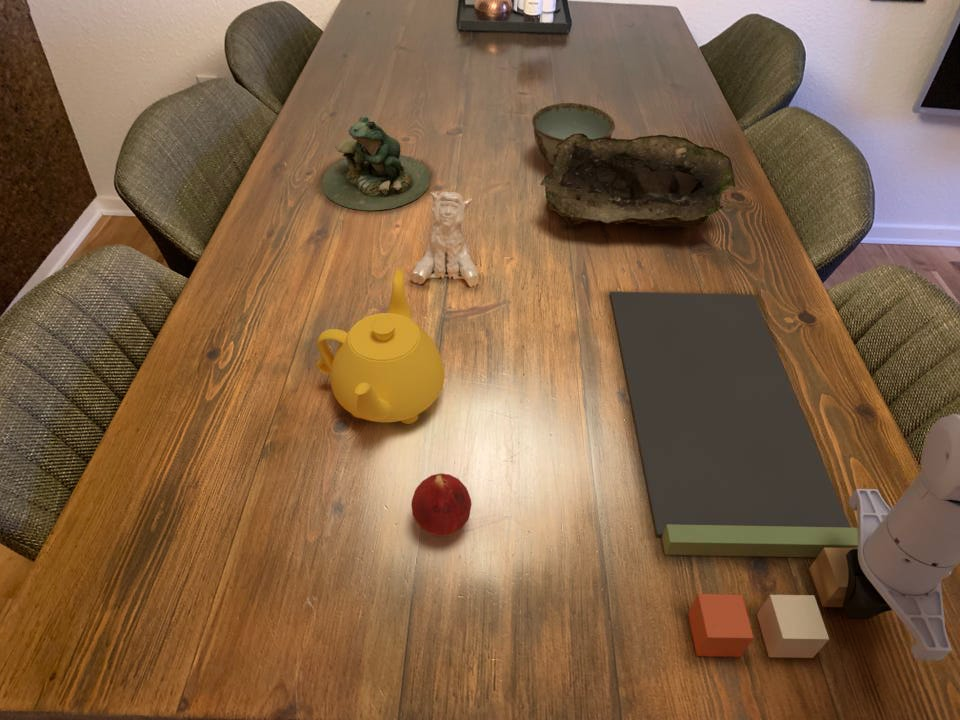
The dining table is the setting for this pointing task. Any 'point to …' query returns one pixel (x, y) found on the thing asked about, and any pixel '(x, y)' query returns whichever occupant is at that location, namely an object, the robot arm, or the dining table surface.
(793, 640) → the ivory block
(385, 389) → the teapot
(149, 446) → the dining table surface
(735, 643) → the terracotta block
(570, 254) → the dining table surface
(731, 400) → the line board
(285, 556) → the dining table surface
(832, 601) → the birch block
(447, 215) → the sitting furry creature
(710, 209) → the hollow geode rock
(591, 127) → the bowl
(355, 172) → the frog figurine
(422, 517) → the onion
